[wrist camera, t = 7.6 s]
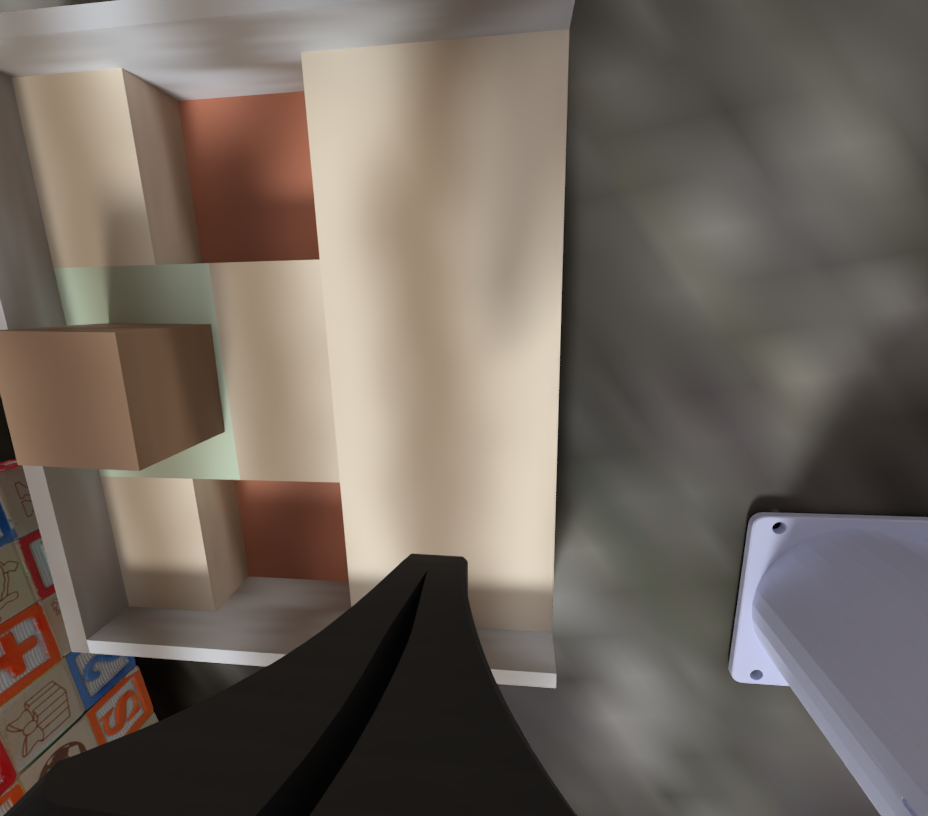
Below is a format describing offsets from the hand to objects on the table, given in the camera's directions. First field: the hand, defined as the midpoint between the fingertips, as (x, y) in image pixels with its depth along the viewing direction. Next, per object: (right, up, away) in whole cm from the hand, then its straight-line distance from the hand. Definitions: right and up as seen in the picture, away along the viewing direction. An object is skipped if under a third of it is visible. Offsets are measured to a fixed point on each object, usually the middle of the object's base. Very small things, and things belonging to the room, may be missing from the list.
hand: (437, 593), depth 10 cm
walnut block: (-10, +5, +6) cm, 13 cm away
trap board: (-5, +6, +9) cm, 12 cm away
